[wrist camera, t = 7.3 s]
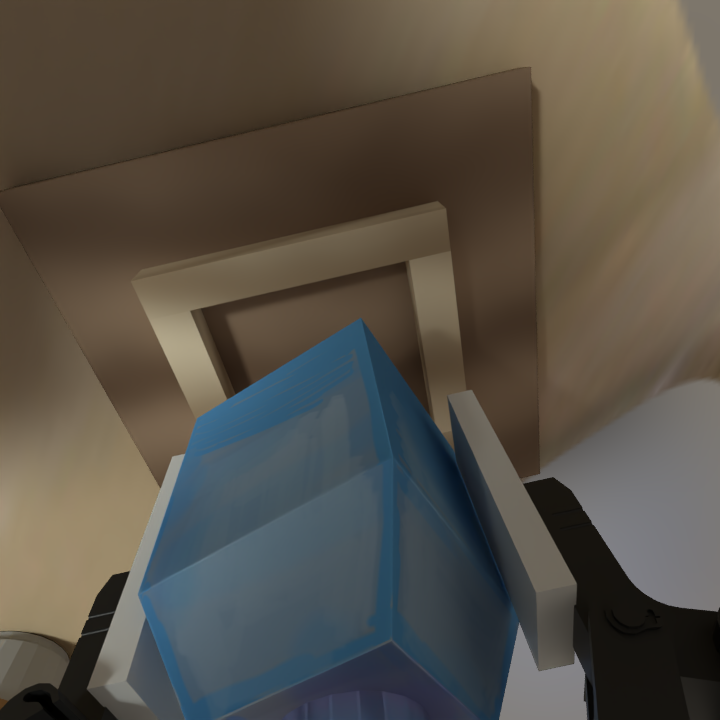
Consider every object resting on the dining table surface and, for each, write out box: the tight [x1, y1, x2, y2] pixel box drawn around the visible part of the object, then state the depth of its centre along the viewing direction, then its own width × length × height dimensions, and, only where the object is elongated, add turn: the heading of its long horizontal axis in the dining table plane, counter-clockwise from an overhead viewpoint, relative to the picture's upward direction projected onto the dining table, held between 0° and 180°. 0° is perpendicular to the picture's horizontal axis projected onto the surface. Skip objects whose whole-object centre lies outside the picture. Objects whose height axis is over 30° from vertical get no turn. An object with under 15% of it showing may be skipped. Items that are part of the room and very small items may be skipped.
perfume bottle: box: [138, 318, 519, 720], centre depth 11 cm, size 6×6×12 cm
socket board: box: [0, 67, 540, 489], centre depth 20 cm, size 18×18×2 cm
